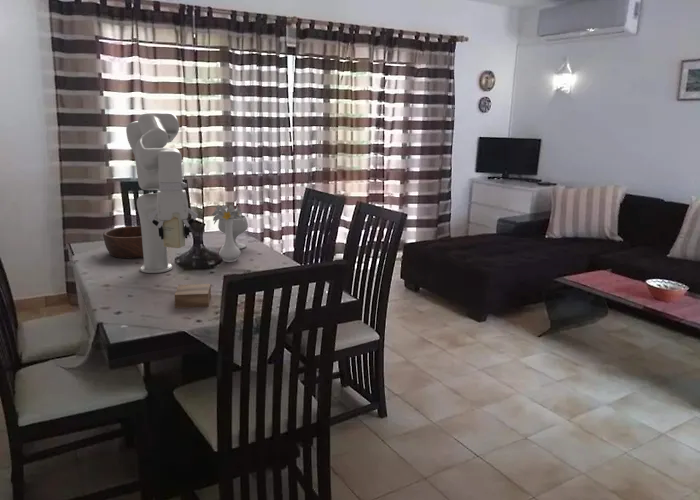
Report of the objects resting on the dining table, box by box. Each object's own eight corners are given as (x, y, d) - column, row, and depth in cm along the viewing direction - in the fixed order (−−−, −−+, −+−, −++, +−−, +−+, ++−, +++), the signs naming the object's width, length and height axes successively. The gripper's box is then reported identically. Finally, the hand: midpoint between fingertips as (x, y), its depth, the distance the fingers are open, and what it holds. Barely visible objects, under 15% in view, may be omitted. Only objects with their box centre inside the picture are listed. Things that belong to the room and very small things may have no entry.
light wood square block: (179, 297, 198) (178, 284, 197) (211, 296, 200) (210, 283, 199) (175, 308, 188) (174, 294, 187) (208, 307, 190) (208, 293, 188)
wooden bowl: (104, 248, 261) (102, 227, 258) (160, 244, 270) (159, 224, 268) (104, 262, 239) (102, 239, 236) (165, 257, 248) (164, 235, 246)
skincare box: (163, 247, 191) (160, 212, 188) (170, 244, 195) (168, 210, 192) (179, 248, 189) (177, 213, 186) (186, 245, 193) (184, 211, 190)
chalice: (212, 247, 267) (211, 216, 263) (235, 242, 278) (234, 212, 274) (232, 252, 259) (231, 220, 255) (254, 246, 270) (253, 216, 266)
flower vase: (235, 253, 257) (234, 200, 251) (250, 263, 242) (248, 207, 235) (208, 256, 250) (205, 202, 244) (220, 267, 235) (218, 209, 229)
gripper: (197, 185, 193) (200, 234, 197) (144, 186, 188) (148, 236, 193) (197, 188, 186) (200, 239, 190) (142, 189, 181) (146, 241, 186)
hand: (174, 237), depth 191 cm, fingers closed on skincare box, 7 cm apart
